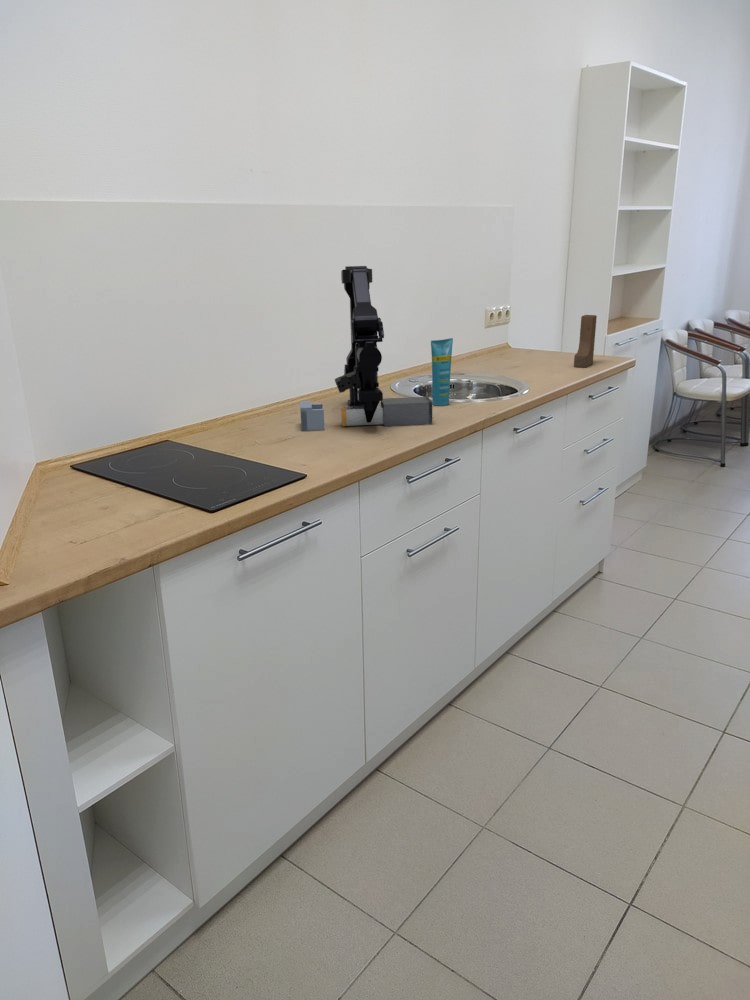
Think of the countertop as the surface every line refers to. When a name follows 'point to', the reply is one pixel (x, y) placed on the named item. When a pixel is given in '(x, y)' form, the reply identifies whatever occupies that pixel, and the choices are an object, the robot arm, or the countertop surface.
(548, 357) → the countertop surface
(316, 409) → the blue-grey u-shaped block
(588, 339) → the wooden block
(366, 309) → the robot arm
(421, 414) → the sleeve
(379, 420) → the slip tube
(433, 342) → the tube
